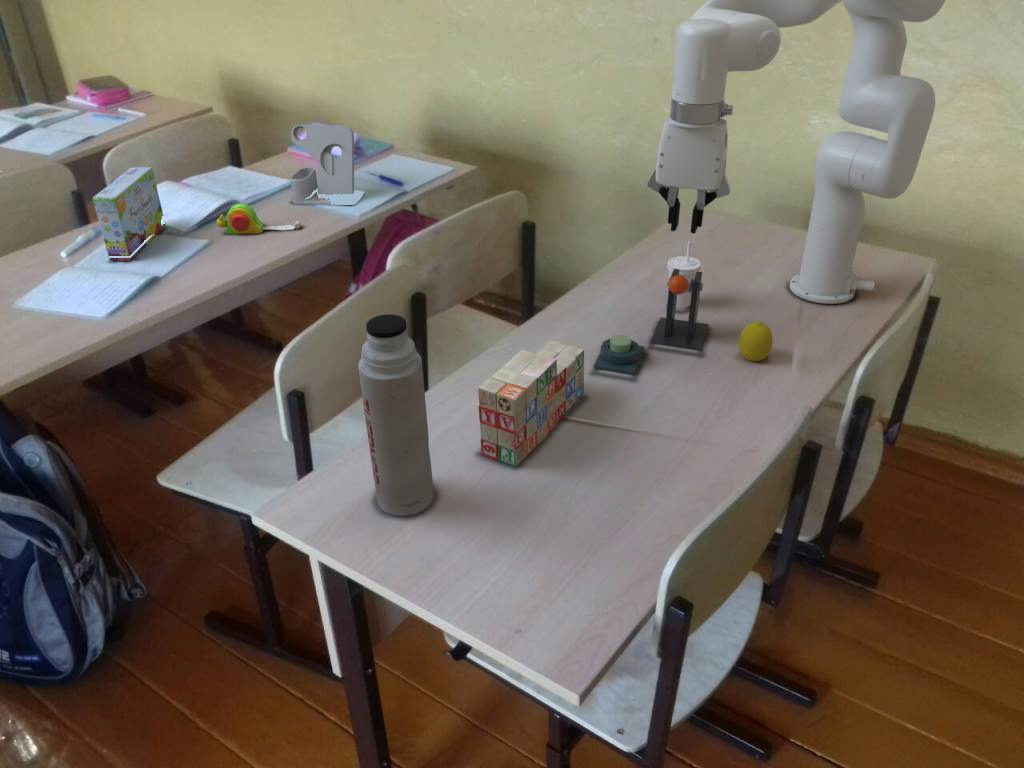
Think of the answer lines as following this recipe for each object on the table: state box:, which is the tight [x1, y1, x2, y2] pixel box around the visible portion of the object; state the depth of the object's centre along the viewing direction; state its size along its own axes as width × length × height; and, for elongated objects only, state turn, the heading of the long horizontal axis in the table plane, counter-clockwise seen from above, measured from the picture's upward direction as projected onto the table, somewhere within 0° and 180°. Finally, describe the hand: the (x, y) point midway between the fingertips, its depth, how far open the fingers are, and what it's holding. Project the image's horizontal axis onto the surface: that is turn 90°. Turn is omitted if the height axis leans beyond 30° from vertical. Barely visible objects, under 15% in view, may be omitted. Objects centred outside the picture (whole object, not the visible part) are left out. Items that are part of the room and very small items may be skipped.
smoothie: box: [666, 240, 702, 309], centre depth 158 cm, size 6×6×14 cm
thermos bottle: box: [357, 313, 435, 517], centre depth 108 cm, size 8×8×28 cm
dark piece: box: [593, 337, 646, 376], centre depth 144 cm, size 9×7×4 cm
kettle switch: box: [668, 275, 693, 295], centre depth 141 cm, size 13×3×3 cm, turn 160°
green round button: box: [609, 334, 632, 353], centre depth 143 cm, size 4×4×2 cm
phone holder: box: [289, 124, 355, 207], centre depth 212 cm, size 17×10×18 cm, turn 81°
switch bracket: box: [649, 269, 709, 352], centre depth 148 cm, size 10×9×13 cm
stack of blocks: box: [477, 340, 585, 468], centre depth 126 cm, size 21×6×12 cm, turn 148°
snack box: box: [91, 166, 167, 262], centre depth 190 cm, size 21×6×15 cm, turn 179°
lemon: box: [738, 320, 774, 362], centre depth 142 cm, size 6×6×8 cm
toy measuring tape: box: [216, 203, 302, 235], centre depth 197 cm, size 6×20×7 cm, turn 96°
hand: (684, 228), depth 131 cm, fingers closed
